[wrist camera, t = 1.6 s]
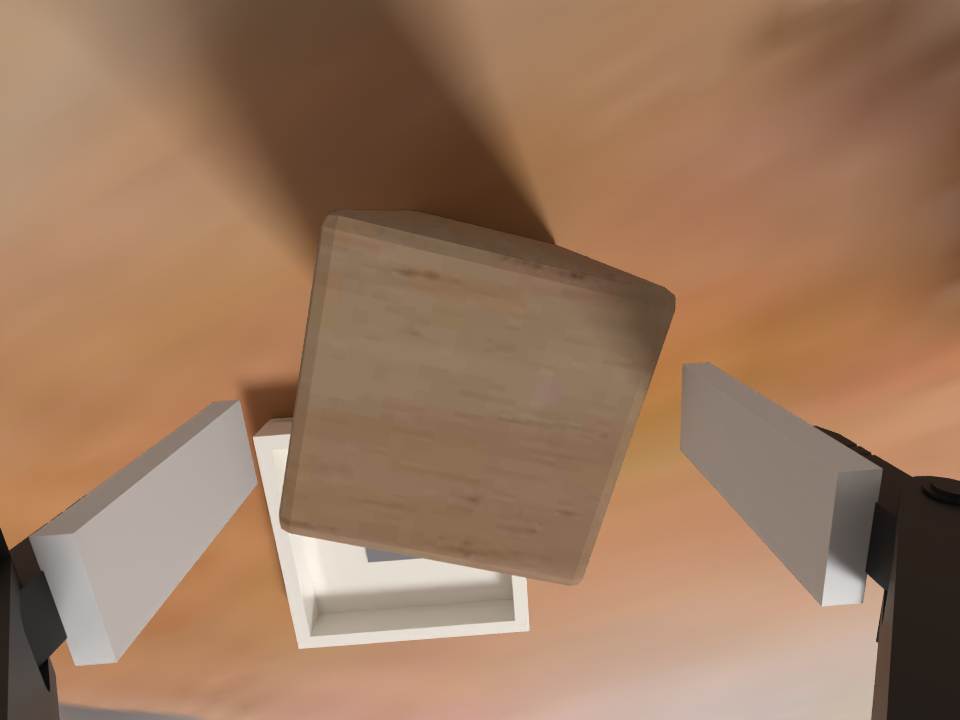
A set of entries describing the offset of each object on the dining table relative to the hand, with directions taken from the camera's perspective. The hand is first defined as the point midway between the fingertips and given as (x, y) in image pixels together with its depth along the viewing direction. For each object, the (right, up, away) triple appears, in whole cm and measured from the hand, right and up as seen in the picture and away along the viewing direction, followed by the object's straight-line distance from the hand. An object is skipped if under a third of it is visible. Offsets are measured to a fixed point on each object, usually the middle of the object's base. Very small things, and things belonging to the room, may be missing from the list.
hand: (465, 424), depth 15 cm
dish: (-5, -10, +23) cm, 26 cm away
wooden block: (0, +6, +19) cm, 20 cm away
